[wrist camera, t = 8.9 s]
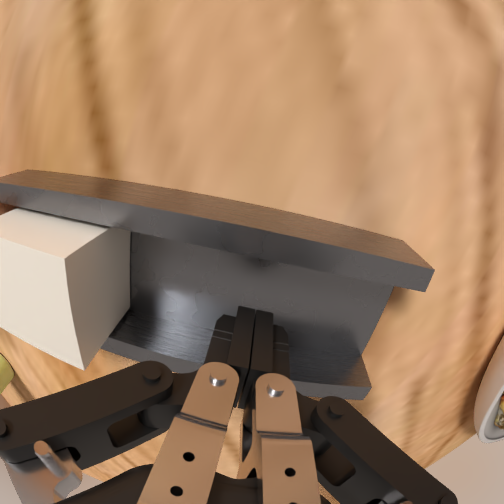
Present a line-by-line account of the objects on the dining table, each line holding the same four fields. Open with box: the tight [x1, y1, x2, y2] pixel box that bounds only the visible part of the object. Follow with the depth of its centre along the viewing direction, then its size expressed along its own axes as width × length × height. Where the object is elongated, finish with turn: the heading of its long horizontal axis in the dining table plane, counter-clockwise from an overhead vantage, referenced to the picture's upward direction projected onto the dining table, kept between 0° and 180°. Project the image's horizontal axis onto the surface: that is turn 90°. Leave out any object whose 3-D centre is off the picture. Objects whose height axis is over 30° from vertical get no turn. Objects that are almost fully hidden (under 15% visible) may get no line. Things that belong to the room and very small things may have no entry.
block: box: [0, 207, 131, 371], centre depth 13 cm, size 7×6×6 cm
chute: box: [0, 170, 435, 400], centre depth 14 cm, size 25×9×6 cm, turn 79°
